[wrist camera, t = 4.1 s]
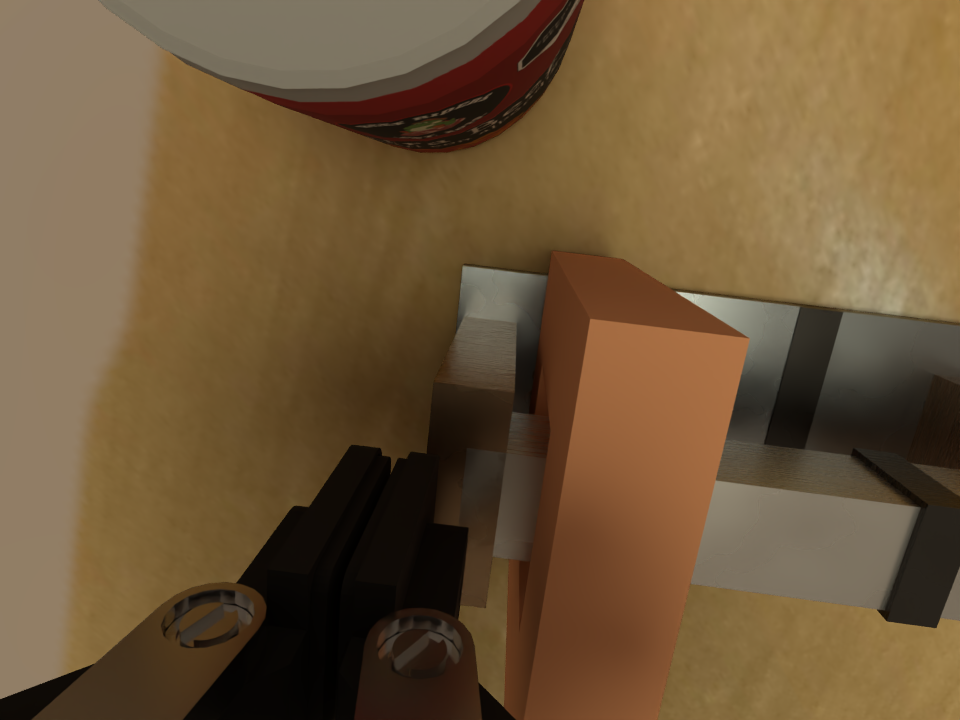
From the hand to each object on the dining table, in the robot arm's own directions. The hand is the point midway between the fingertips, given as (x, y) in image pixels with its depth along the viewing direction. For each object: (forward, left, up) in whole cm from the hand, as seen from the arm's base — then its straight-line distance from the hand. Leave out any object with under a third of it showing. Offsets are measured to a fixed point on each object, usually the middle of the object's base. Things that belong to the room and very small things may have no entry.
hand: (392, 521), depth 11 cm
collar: (0, -4, -7) cm, 8 cm away
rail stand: (0, -8, -8) cm, 12 cm away
